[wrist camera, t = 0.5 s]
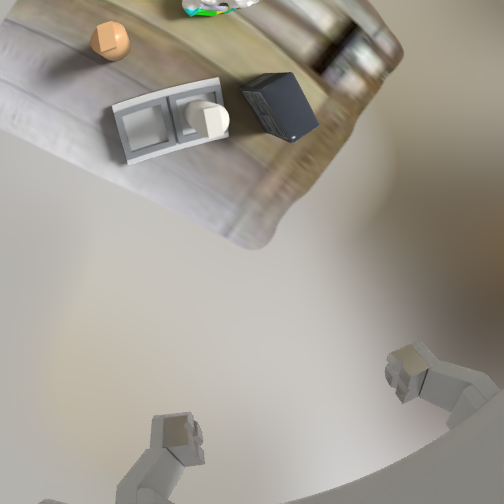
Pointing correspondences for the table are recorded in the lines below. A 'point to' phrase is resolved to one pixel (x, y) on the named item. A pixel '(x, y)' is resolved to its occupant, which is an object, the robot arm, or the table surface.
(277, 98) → the small box
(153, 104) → the grey base with column
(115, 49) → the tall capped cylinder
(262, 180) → the table surface
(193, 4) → the partial skull model
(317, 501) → the robot arm
